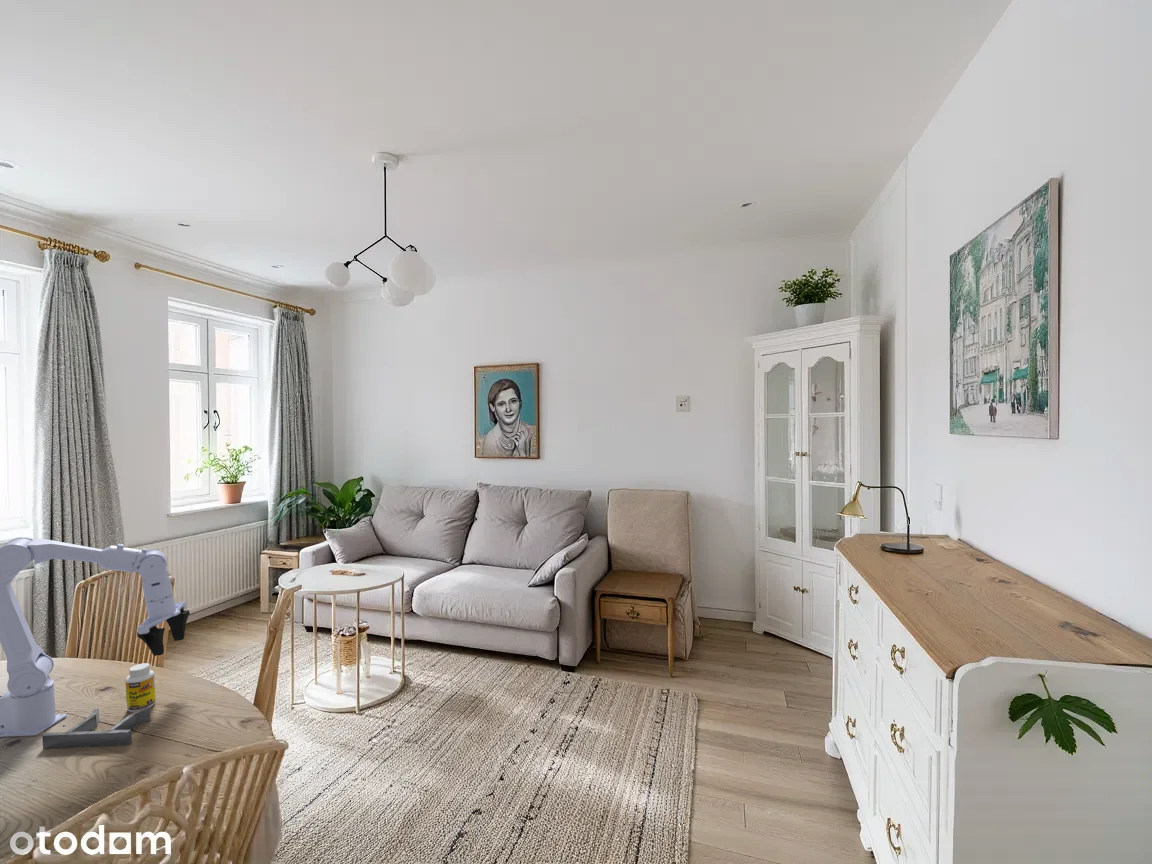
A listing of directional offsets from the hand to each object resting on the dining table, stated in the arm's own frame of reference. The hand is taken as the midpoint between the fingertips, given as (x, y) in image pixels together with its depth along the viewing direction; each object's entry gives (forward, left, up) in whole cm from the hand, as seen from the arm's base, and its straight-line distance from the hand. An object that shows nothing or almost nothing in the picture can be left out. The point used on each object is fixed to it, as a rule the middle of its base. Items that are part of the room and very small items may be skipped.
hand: (169, 647), depth 140 cm
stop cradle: (-2, -18, -12) cm, 21 cm away
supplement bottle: (-2, -7, -12) cm, 14 cm away
